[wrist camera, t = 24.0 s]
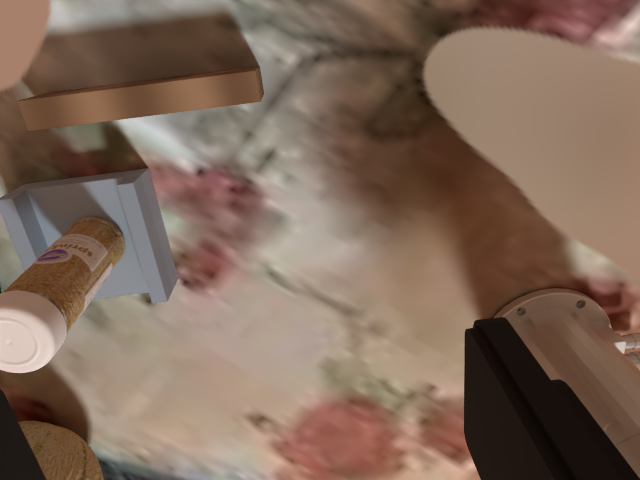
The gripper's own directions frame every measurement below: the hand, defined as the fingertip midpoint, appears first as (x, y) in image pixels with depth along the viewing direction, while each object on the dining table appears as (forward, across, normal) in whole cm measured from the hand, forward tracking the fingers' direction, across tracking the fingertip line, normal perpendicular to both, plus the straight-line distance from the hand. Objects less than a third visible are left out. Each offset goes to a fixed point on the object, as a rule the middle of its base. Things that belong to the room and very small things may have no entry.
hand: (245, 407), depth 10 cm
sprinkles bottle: (+28, +16, +7) cm, 33 cm away
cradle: (+30, +16, +7) cm, 35 cm away
